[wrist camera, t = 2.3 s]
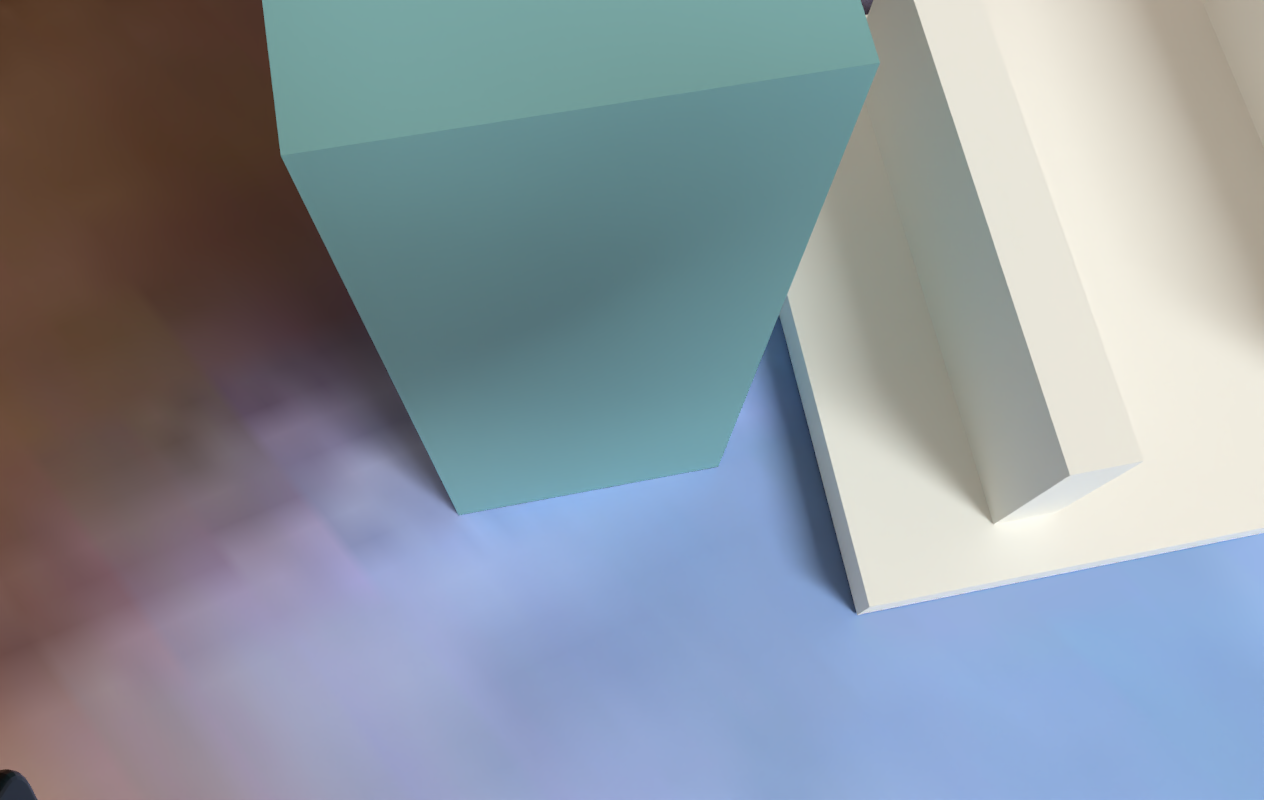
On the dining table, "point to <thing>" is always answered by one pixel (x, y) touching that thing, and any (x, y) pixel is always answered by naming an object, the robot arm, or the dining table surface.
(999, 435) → the book rack
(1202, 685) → the dining table surface
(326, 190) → the teal book
